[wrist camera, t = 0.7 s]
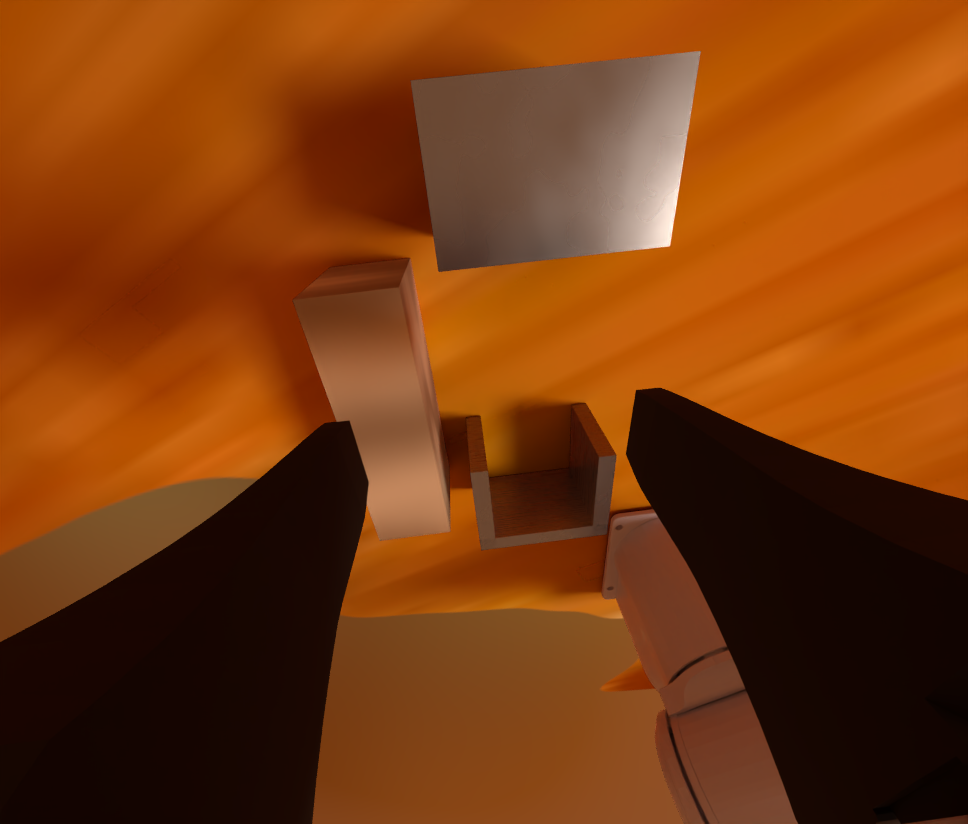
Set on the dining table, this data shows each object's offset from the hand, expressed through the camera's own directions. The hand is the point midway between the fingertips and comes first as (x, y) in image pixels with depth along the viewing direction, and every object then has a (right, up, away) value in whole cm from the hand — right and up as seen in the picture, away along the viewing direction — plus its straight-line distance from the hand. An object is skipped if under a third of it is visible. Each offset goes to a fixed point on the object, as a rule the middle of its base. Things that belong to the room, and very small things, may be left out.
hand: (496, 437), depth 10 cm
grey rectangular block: (+1, +10, +5) cm, 12 cm away
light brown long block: (-5, +2, +10) cm, 11 cm away
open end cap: (+2, -2, +13) cm, 13 cm away
